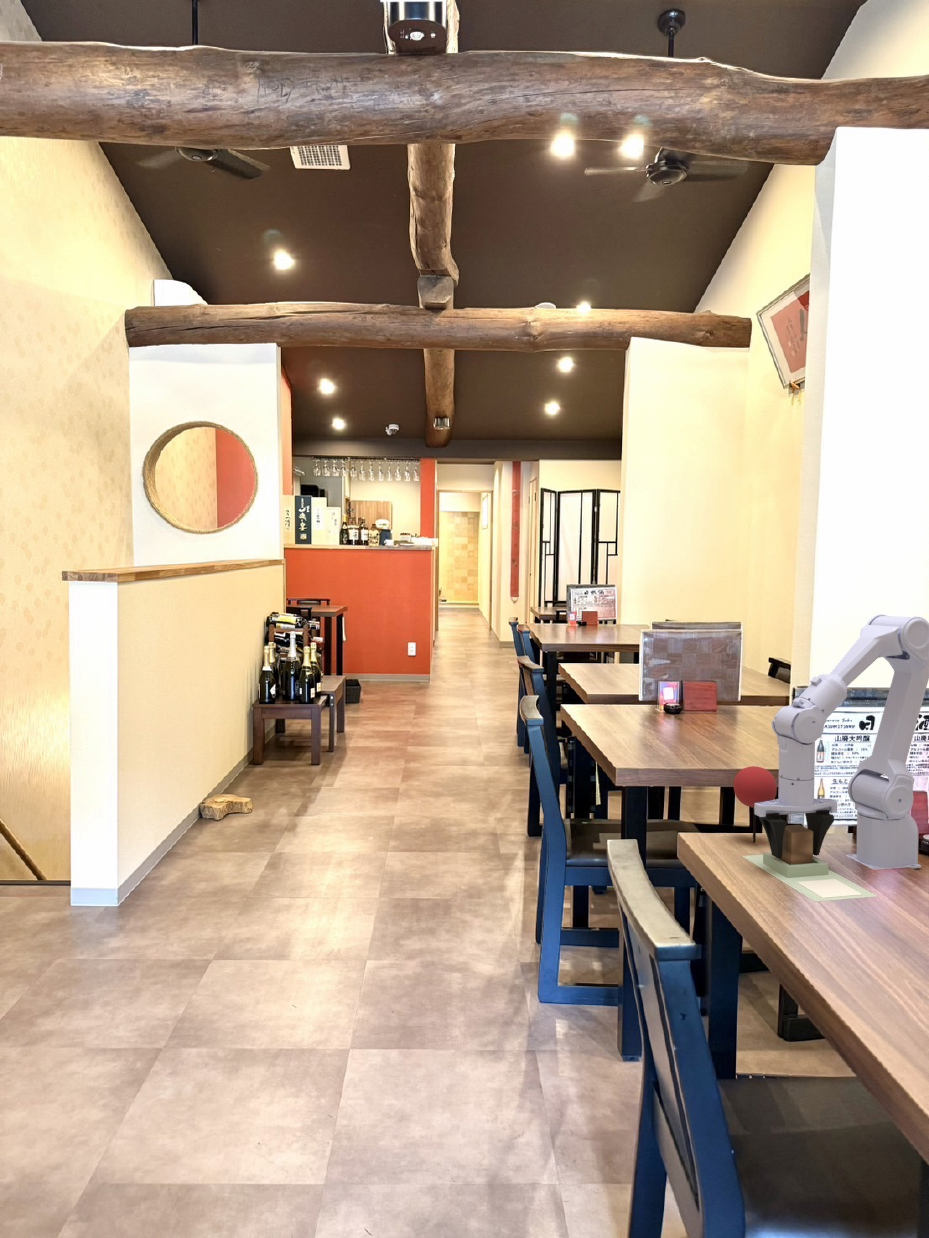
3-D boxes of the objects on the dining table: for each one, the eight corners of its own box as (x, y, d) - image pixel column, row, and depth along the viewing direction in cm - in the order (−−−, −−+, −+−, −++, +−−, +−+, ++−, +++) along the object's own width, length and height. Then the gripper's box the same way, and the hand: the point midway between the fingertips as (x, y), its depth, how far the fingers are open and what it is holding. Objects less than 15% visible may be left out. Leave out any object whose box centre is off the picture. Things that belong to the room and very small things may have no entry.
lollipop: (781, 851, 156) (782, 771, 155) (740, 851, 156) (741, 771, 155) (767, 838, 163) (768, 762, 163) (728, 838, 164) (728, 762, 163)
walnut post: (798, 864, 147) (799, 824, 147) (812, 871, 143) (813, 831, 143) (778, 865, 146) (778, 826, 146) (791, 873, 142) (791, 832, 142)
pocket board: (797, 855, 154) (797, 842, 154) (878, 900, 132) (878, 885, 132) (741, 859, 152) (741, 846, 152) (814, 905, 130) (815, 890, 130)
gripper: (820, 769, 149) (819, 845, 150) (745, 773, 147) (744, 850, 147) (845, 778, 142) (844, 857, 143) (767, 783, 140) (766, 863, 140)
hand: (795, 855), depth 145 cm, fingers open, 6 cm apart
